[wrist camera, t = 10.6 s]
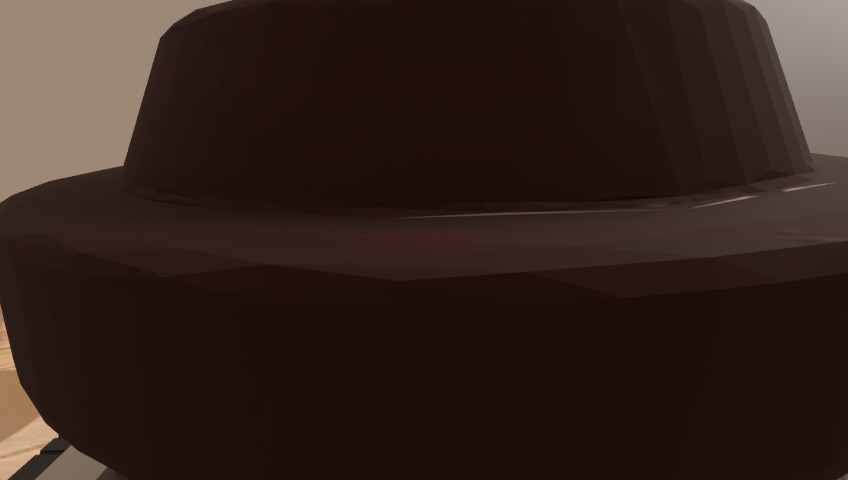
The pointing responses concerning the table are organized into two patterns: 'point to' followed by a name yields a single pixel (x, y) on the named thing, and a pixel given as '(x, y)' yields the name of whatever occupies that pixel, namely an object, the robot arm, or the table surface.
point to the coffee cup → (446, 252)
